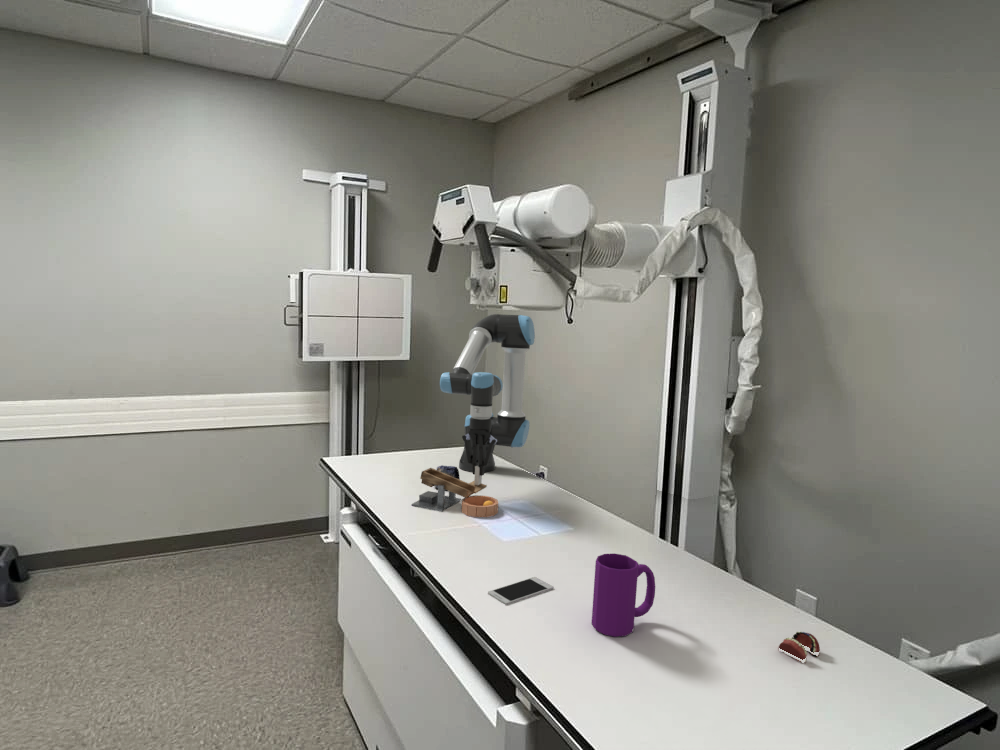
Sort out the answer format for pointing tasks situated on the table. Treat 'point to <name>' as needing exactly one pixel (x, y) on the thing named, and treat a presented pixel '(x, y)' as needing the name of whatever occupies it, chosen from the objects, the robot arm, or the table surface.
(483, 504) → the ball
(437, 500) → the pivot base
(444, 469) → the rock
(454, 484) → the lever
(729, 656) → the table surface
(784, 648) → the dentures
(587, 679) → the table surface
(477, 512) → the terracotta bowl
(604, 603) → the mug
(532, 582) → the smartphone
